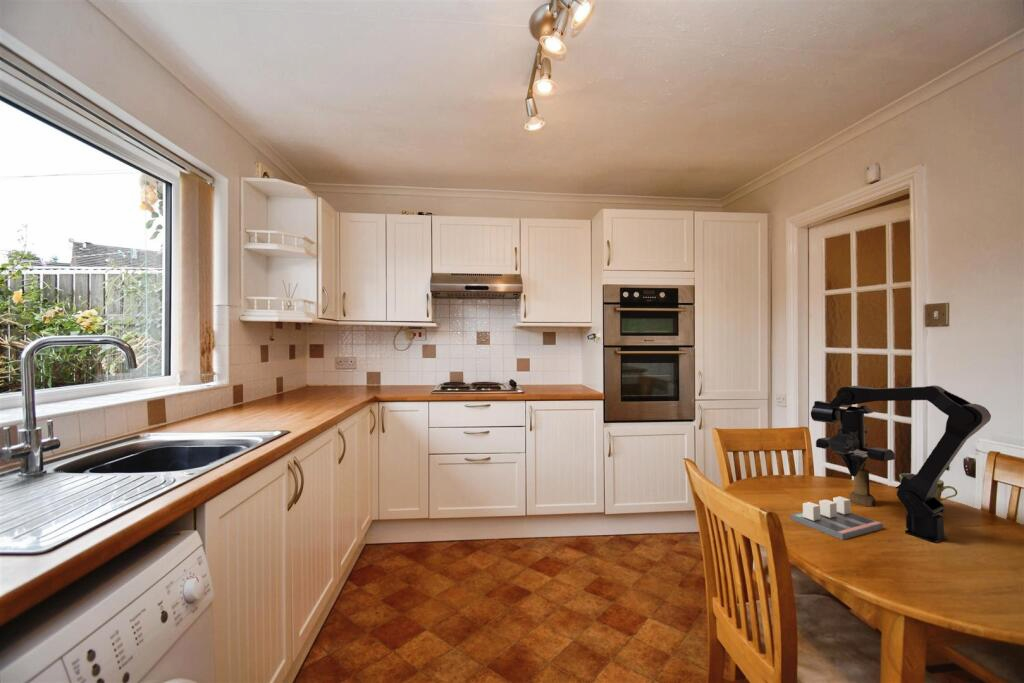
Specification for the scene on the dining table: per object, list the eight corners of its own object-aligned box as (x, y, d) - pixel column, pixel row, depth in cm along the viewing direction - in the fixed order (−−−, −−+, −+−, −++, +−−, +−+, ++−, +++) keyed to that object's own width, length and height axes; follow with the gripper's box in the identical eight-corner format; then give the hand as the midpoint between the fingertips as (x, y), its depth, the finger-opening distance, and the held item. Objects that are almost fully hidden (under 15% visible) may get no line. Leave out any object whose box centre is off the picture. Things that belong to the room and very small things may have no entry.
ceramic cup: (894, 507, 130) (893, 476, 130) (907, 501, 134) (906, 471, 135) (951, 522, 118) (950, 488, 118) (964, 515, 123) (963, 483, 123)
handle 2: (836, 516, 119) (836, 502, 119) (830, 517, 118) (829, 504, 118) (825, 512, 122) (825, 499, 122) (819, 514, 121) (819, 500, 121)
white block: (850, 512, 122) (850, 499, 122) (844, 514, 121) (844, 501, 121) (839, 509, 124) (839, 496, 124) (833, 510, 123) (833, 497, 123)
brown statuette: (845, 501, 135) (843, 447, 136) (855, 497, 138) (854, 445, 138) (869, 508, 129) (867, 452, 130) (879, 504, 132) (878, 450, 132)
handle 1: (820, 519, 118) (820, 505, 118) (813, 520, 117) (813, 507, 117) (809, 515, 120) (809, 501, 120) (802, 516, 119) (802, 503, 119)
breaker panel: (882, 528, 115) (882, 523, 115) (842, 539, 109) (842, 534, 109) (829, 510, 128) (829, 505, 128) (790, 519, 122) (790, 514, 122)
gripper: (804, 423, 131) (805, 470, 131) (871, 434, 113) (873, 489, 113) (826, 420, 135) (827, 466, 135) (895, 431, 117) (896, 484, 117)
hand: (853, 476), depth 125 cm, fingers closed
